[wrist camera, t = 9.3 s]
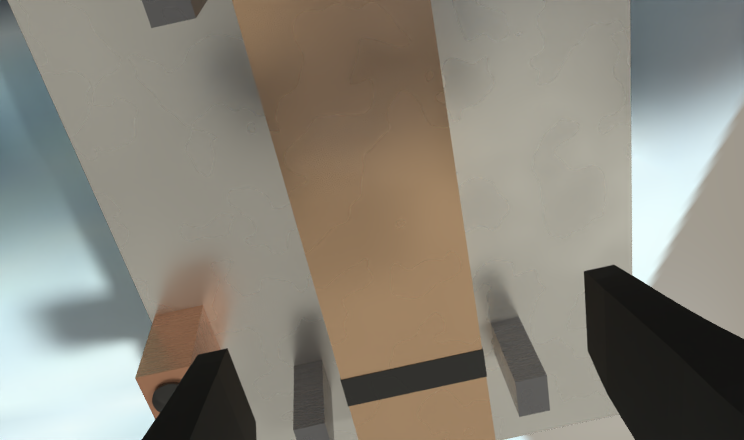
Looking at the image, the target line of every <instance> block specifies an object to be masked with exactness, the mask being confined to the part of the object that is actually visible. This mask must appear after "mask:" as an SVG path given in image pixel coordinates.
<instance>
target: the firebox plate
mask: <svg viewBox="0 0 744 440" xmlns="http://www.w3.org/2000/svg"><path fill="white" fill-rule="evenodd" d="M8 3H9V5H10V7H11V9H12V11H13V14H14V16H15V18H16V20H17V23H18V25H19V27H20V29H21V32H22V34H23V36H24V38H25V41H26V43H27V45H28V47H29V49H30V52H31V54H32V56H33V58H34V61H35V63H36V65H37V67H38V70H39V72H40V74H41V76H42V79H43V81H44V83H45V85H46V87H47V90H48V92H49V94H50V96H51V99H52V101H53V103H54V105H55V108H56V110H57V112H58V114H59V117H60V119H61V121H62V123H63V125H64V128H65V130H66V132H67V134H68V137H69V139H70V141H71V143H72V146H73V148H74V150H75V152H76V155H77V157H78V159H79V161H80V163H81V166H82V168H83V170H84V172H85V175H86V177H87V179H88V181H89V184H90V186H91V188H92V190H93V193H94V195H95V197H96V199H97V201H98V204H99V206H100V208H101V210H102V213H103V215H104V217H105V219H106V222H107V224H108V226H109V228H110V231H111V233H112V235H113V237H114V239H115V242H116V244H117V246H118V248H119V251H120V253H121V255H122V257H123V260H124V262H125V264H126V266H127V269H128V271H129V273H130V275H131V277H132V280H133V282H134V284H135V286H136V289H137V291H138V293H139V295H140V298H141V300H142V302H143V304H144V307H145V309H146V311H147V313H148V315H149V318H150V320H151V322H152V327H151V330H150V333H149V336H148V339H147V342H146V346H145V349H144V352H143V355H142V358H141V361H140V365H139V368H138V371H137V374H136V377H135V379H136V381H137V383H138V385H139V387H140V389H141V391H142V393H143V395H144V397H145V399H146V401H147V403H148V405H149V407H150V409H151V411H152V413H153V415H154V418H155V419H156V418H157V416H158V415H159V413H160V412H161V410H162V409H163V407H164V406H165V404H166V403H167V401H168V400H169V398H170V397H171V395H172V393H173V392H174V390H175V389H176V387H177V386H178V384H179V382H180V381H181V379H182V378H183V376H184V375H185V373H186V372H187V370H188V368H189V367H190V365H191V364H192V362H193V361H194V360H195V358H196V357H197V355H199V354H203V353H208V352H212V351H217V350H222V349H226V348H228V351H229V353H230V356H231V359H232V361H233V364H234V366H235V369H236V372H237V374H238V377H239V379H240V382H241V384H242V387H243V390H244V392H245V395H246V397H247V400H248V403H249V405H250V408H251V410H252V413H253V415H254V418H255V421H256V439H257V440H358V436H357V433H356V429H355V426H354V423H353V419H352V416H351V412H350V409H349V406H348V405H347V401H346V398H345V394H344V391H343V387H342V384H341V380H340V374H339V371H338V367H337V364H336V360H335V357H334V353H333V350H332V346H331V343H330V339H329V336H328V332H327V329H326V325H325V322H324V318H323V315H322V312H321V308H320V305H319V301H318V298H317V294H316V291H315V287H314V284H313V280H312V277H311V273H310V270H309V266H308V263H307V260H306V256H305V253H304V249H303V246H302V242H301V239H300V235H299V232H298V228H297V225H296V221H295V218H294V214H293V211H292V207H291V204H290V201H289V197H288V194H287V190H286V187H285V183H284V180H283V176H282V173H281V169H280V166H279V162H278V159H277V155H276V152H275V149H274V145H273V142H272V138H271V135H270V131H269V128H268V124H267V121H266V117H265V114H264V110H263V107H262V103H261V100H260V97H259V93H258V90H257V86H256V83H255V79H254V76H253V72H252V69H251V65H250V62H249V58H248V55H247V51H246V48H245V44H244V41H243V38H242V34H241V31H240V27H239V24H238V20H237V17H236V13H235V10H234V6H233V3H232V0H8ZM431 6H432V13H433V20H434V26H435V33H436V40H437V47H438V53H439V60H440V67H441V74H442V81H443V87H444V94H445V101H446V108H447V114H448V121H449V128H450V135H451V141H452V148H453V155H454V162H455V168H456V175H457V182H458V189H459V195H460V202H461V209H462V216H463V222H464V229H465V236H466V243H467V249H468V256H469V263H470V270H471V277H472V283H473V290H474V297H475V304H476V310H477V317H478V324H479V331H480V337H481V344H482V348H483V352H484V359H485V366H486V372H487V377H486V378H487V385H488V391H489V398H490V405H491V412H492V418H493V425H494V432H495V439H496V440H504V439H508V438H513V437H518V436H522V435H527V434H532V433H536V432H541V431H545V430H550V429H555V428H559V427H564V426H569V425H573V424H578V423H583V422H587V421H592V420H597V419H601V418H606V417H611V416H615V415H620V414H619V413H618V411H617V409H616V408H615V406H614V405H613V403H612V401H611V400H610V398H609V396H608V395H607V393H606V390H605V388H604V386H603V384H602V382H601V380H600V378H599V375H598V373H597V371H596V369H595V366H594V364H593V362H592V360H591V357H590V355H589V353H588V349H587V329H586V308H585V287H584V271H587V270H591V269H596V268H601V267H605V266H610V265H616V266H617V267H619V268H621V269H623V270H624V271H626V272H627V273H629V274H631V275H632V184H631V27H630V0H431Z"/></svg>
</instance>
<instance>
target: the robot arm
mask: <svg viewBox="0 0 744 440" xmlns="http://www.w3.org/2000/svg"><path fill="white" fill-rule="evenodd" d="M584 287H585V308H586V329H587V349H588V353H589V355H590V357H591V360H592V362H593V364H594V366H595V369H596V371H597V373H598V375H599V378H600V380H601V382H602V384H603V386H604V388H605V390H606V393H607V395H608V396H609V398H610V400H611V401H612V403H613V405H614V406H615V408H616V409H617V411H618V413H619V414H620V416H621V418H622V419H623V421H624V422H625V424H626V426H627V427H628V429H629V430H630V432H631V433H632V435H633V437H634V439H635V440H744V339H742V338H740V337H739V336H737V335H735V334H733V333H731V332H729V331H727V330H725V329H723V328H721V327H719V326H717V325H715V324H713V323H712V322H710V321H708V320H706V319H704V318H702V317H701V316H699V315H697V314H695V313H693V312H691V311H690V310H688V309H686V308H685V307H683V306H681V305H680V304H678V303H676V302H674V301H673V300H671V299H670V298H668V297H666V296H665V295H663V294H661V293H660V292H658V291H656V290H655V289H653V288H652V287H650V286H648V285H647V284H645V283H644V282H642V281H640V280H639V279H637V278H635V277H634V276H632V275H631V274H629V273H627V272H626V271H624V270H623V269H621V268H619V267H617V266H616V265H610V266H605V267H601V268H596V269H591V270H587V271H584ZM142 440H257V439H256V421H255V418H254V415H253V413H252V410H251V408H250V405H249V403H248V400H247V397H246V395H245V392H244V390H243V387H242V384H241V382H240V379H239V377H238V374H237V372H236V369H235V366H234V364H233V361H232V359H231V356H230V353H229V351H228V348H226V349H222V350H217V351H212V352H208V353H203V354H199V355H197V357H196V358H195V360H194V361H193V362H192V364H191V365H190V367H189V368H188V370H187V372H186V373H185V375H184V376H183V378H182V379H181V381H180V382H179V384H178V386H177V387H176V389H175V390H174V392H173V393H172V395H171V397H170V398H169V400H168V401H167V403H166V404H165V406H164V407H163V409H162V410H161V412H160V413H159V415H158V416H157V418H156V419H155V421H154V422H153V424H152V425H151V427H150V428H149V430H148V431H147V433H146V434H145V436H144V437H143V439H142Z"/></svg>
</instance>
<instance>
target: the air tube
mask: <svg viewBox="0 0 744 440" xmlns="http://www.w3.org/2000/svg"><path fill="white" fill-rule="evenodd" d="M232 3H233V6H234V10H235V13H236V17H237V20H238V24H239V27H240V31H241V34H242V38H243V41H244V44H245V48H246V51H247V55H248V58H249V62H250V65H251V69H252V72H253V76H254V79H255V83H256V86H257V90H258V93H259V97H260V100H261V103H262V107H263V110H264V114H265V117H266V121H267V124H268V128H269V131H270V135H271V138H272V142H273V145H274V149H275V152H276V155H277V159H278V162H279V166H280V169H281V173H282V176H283V180H284V183H285V187H286V190H287V194H288V197H289V201H290V204H291V207H292V211H293V214H294V218H295V221H296V225H297V228H298V232H299V235H300V239H301V242H302V246H303V249H304V253H305V256H306V260H307V263H308V266H309V270H310V273H311V277H312V280H313V284H314V287H315V291H316V294H317V298H318V301H319V305H320V308H321V312H322V315H323V318H324V322H325V325H326V329H327V332H328V336H329V339H330V343H331V346H332V350H333V353H334V357H335V360H336V364H337V367H338V371H339V374H340V380H341V384H342V387H343V391H344V394H345V398H346V401H347V405H348V406H349V409H350V412H351V416H352V419H353V423H354V426H355V429H356V433H357V436H358V440H496V439H495V432H494V425H493V418H492V412H491V405H490V398H489V391H488V385H487V378H486V377H487V372H486V366H485V359H484V352H483V348H482V344H481V337H480V331H479V324H478V317H477V310H476V304H475V297H474V290H473V283H472V277H471V270H470V263H469V256H468V249H467V243H466V236H465V229H464V222H463V216H462V209H461V202H460V195H459V189H458V182H457V175H456V168H455V162H454V155H453V148H452V141H451V135H450V128H449V121H448V114H447V108H446V101H445V94H444V87H443V81H442V74H441V67H440V60H439V53H438V47H437V40H436V33H435V26H434V20H433V13H432V6H431V0H232Z"/></svg>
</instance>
